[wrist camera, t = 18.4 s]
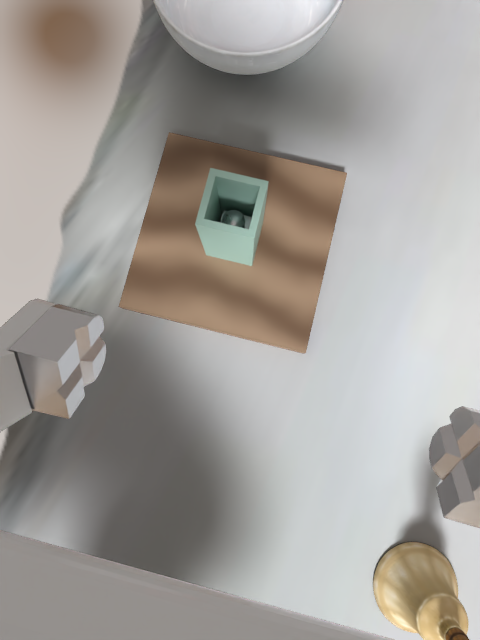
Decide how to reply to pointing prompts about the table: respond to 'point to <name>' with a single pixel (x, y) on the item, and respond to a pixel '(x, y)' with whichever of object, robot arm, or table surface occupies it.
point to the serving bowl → (247, 30)
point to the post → (235, 219)
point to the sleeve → (229, 195)
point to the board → (226, 276)
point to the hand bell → (420, 592)
